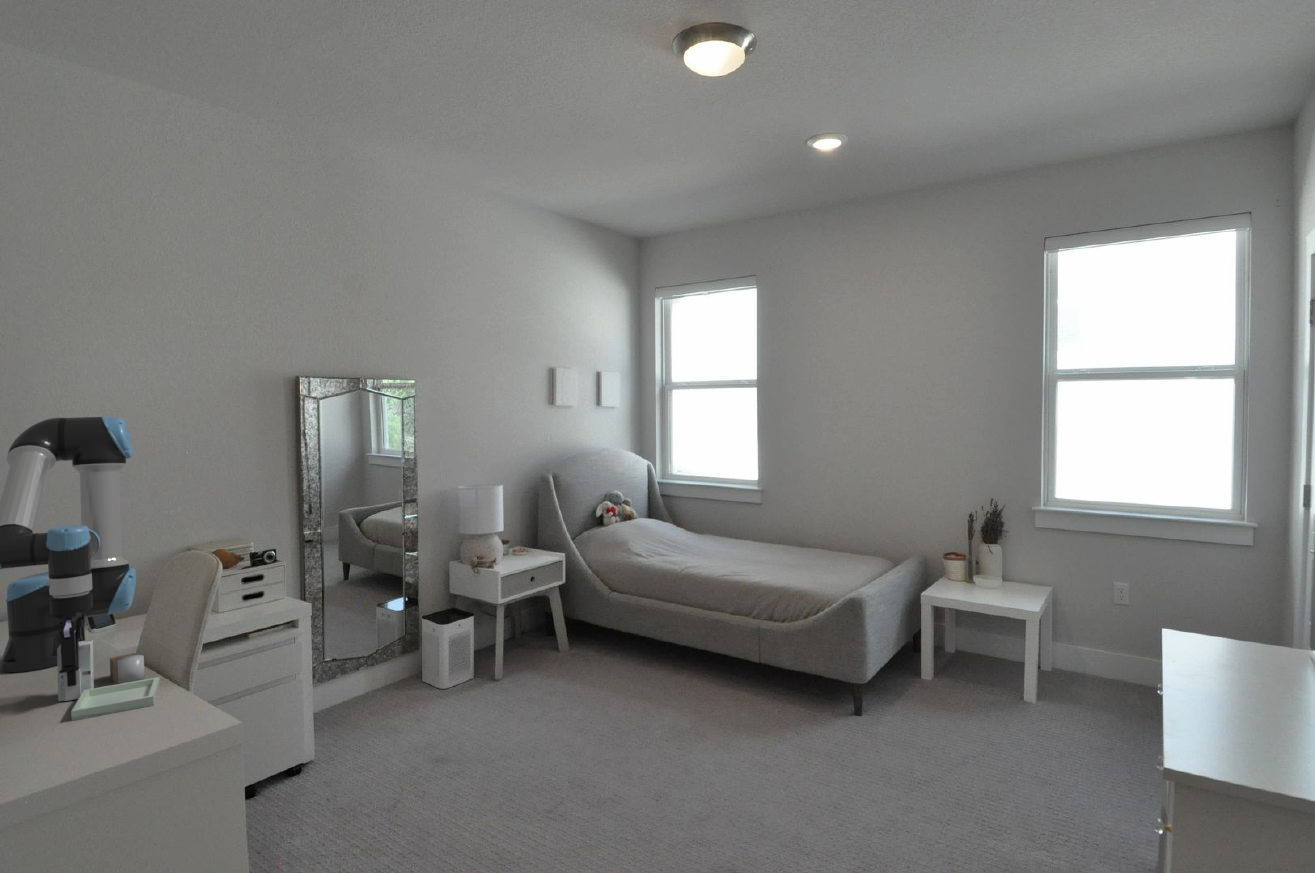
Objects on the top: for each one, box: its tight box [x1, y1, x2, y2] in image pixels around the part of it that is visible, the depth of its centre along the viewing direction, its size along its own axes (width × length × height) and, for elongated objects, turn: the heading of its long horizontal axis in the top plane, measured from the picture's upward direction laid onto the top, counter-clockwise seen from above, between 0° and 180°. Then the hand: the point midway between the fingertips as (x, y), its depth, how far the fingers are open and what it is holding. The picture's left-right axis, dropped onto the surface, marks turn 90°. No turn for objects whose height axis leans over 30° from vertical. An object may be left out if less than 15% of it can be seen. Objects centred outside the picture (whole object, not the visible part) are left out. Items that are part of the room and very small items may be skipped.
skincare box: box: [57, 639, 95, 702], centre depth 160 cm, size 6×4×12 cm
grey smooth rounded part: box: [118, 654, 146, 684], centre depth 168 cm, size 5×5×6 cm
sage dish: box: [70, 676, 161, 722], centre depth 156 cm, size 14×14×2 cm
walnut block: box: [109, 652, 137, 684], centre depth 172 cm, size 5×5×5 cm
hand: (75, 695), depth 160 cm, fingers closed on skincare box, 4 cm apart
